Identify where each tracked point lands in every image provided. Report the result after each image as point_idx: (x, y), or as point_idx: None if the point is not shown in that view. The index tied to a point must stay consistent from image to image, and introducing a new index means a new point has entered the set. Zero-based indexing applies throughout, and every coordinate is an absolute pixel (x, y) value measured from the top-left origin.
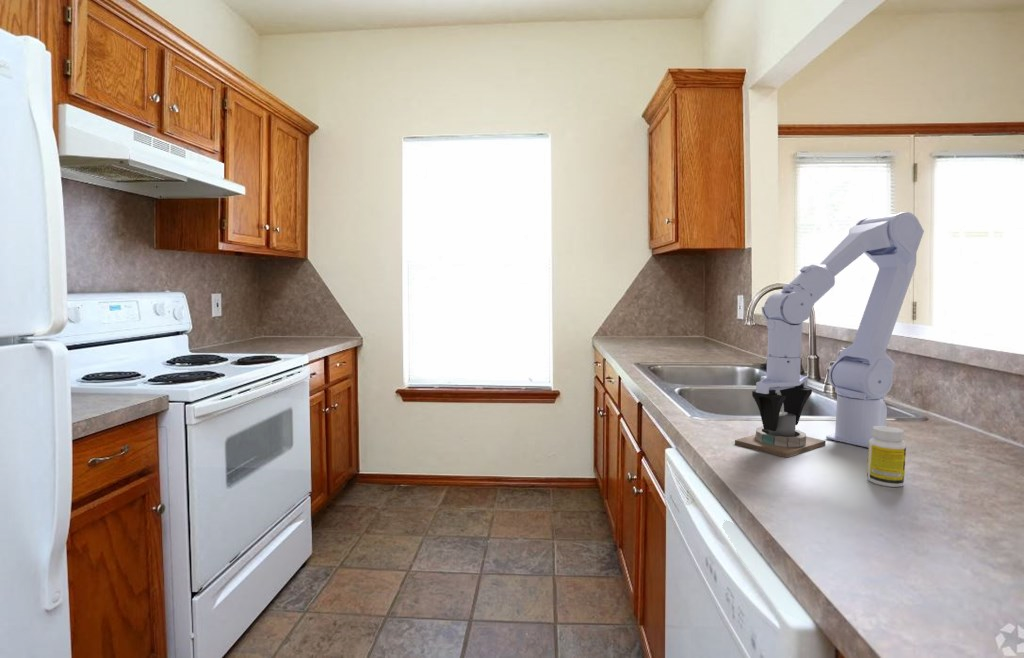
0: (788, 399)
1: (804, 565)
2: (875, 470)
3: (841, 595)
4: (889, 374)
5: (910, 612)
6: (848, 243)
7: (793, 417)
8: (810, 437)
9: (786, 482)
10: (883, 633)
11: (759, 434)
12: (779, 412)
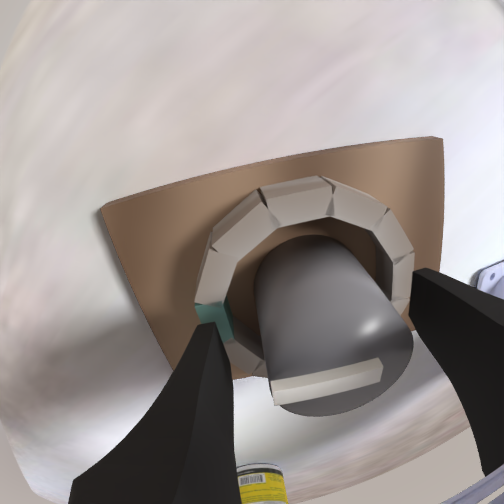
0: (496, 362)
1: (25, 476)
2: None
3: (34, 487)
4: None
5: (62, 501)
6: None
7: (336, 413)
8: None
9: (81, 437)
10: (41, 495)
11: (200, 275)
12: (234, 456)
